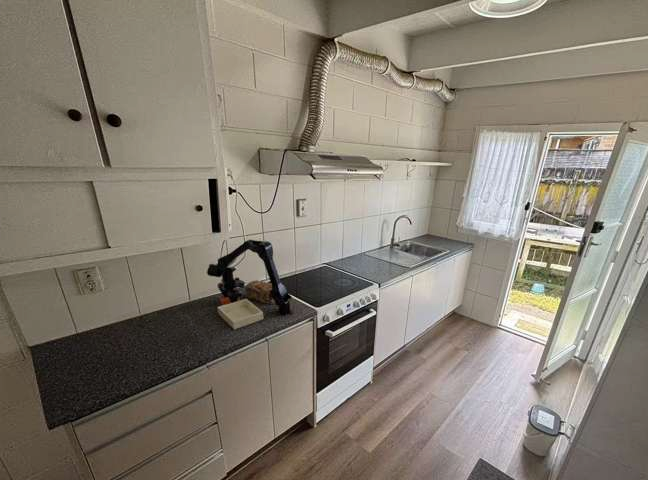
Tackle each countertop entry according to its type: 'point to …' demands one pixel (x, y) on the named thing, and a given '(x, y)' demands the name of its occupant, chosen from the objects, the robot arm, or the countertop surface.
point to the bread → (259, 291)
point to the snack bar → (227, 301)
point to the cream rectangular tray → (240, 313)
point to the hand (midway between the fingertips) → (231, 303)
